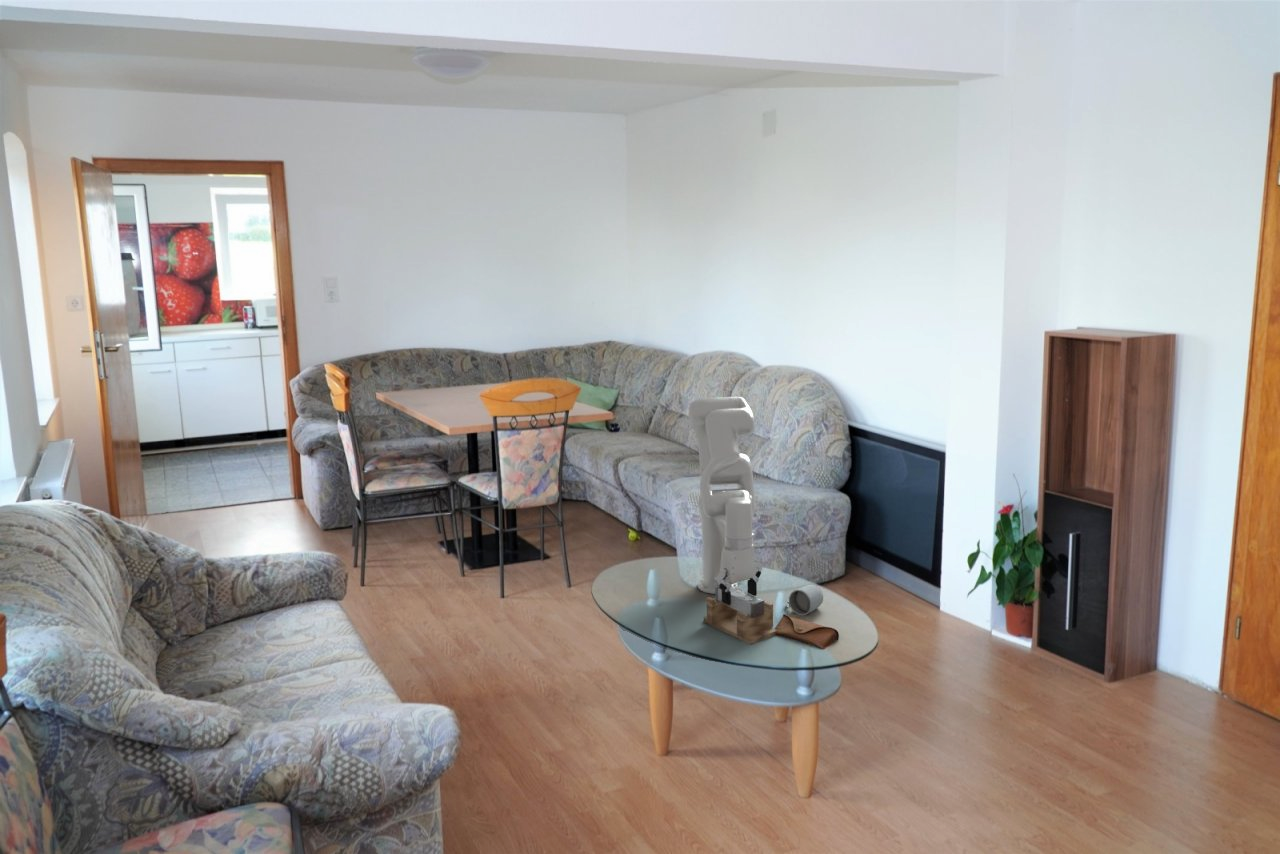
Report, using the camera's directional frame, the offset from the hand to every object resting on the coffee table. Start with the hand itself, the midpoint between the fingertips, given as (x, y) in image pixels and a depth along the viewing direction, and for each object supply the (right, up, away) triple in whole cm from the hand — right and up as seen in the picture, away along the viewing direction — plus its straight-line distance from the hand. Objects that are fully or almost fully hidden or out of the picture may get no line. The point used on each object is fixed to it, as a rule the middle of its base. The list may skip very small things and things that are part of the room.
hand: (739, 598), depth 289 cm
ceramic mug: (+20, -6, +13) cm, 24 cm away
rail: (0, -3, +1) cm, 3 cm away
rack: (0, -9, +2) cm, 9 cm away
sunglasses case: (+17, -10, -4) cm, 21 cm away
